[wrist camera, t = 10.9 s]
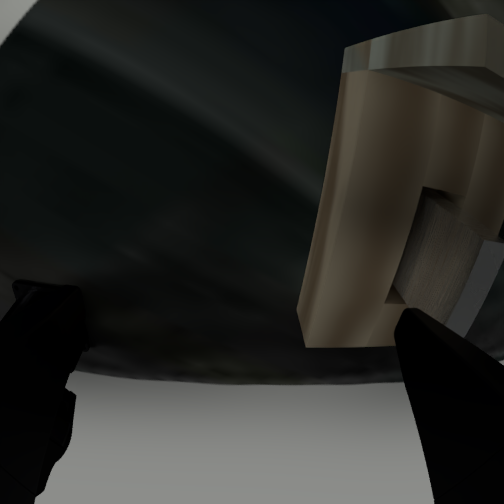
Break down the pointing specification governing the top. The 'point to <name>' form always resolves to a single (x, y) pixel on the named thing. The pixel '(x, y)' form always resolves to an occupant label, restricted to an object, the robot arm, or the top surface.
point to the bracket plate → (447, 262)
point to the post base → (401, 168)
